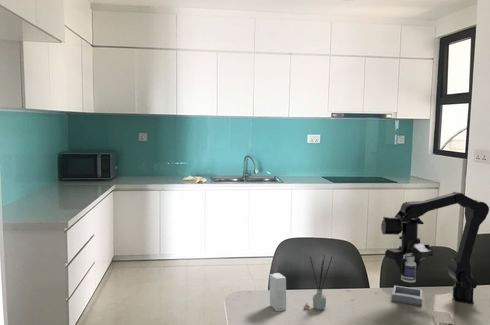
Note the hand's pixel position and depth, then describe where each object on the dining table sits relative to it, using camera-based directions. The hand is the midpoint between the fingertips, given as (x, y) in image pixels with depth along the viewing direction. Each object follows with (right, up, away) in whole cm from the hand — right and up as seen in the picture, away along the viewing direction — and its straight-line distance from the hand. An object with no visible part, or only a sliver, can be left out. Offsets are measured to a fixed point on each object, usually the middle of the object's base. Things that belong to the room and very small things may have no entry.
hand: (408, 274), depth 155 cm
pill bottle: (0, -3, 0) cm, 3 cm away
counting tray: (0, -10, +1) cm, 10 cm away
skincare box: (-52, -10, -9) cm, 54 cm away
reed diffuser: (-37, -10, -11) cm, 40 cm away
